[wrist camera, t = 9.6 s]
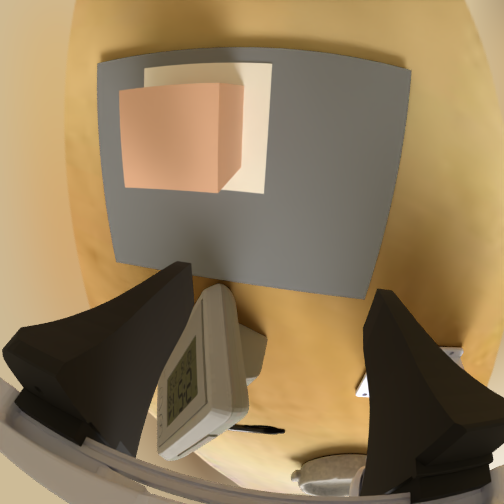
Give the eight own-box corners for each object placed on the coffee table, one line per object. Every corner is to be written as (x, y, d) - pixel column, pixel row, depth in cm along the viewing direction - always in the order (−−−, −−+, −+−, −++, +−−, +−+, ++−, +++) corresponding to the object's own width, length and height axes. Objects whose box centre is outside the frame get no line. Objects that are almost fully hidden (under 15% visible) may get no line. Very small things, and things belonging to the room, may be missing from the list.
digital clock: (222, 266, 23) (169, 378, 14) (306, 331, 25) (295, 446, 16) (140, 350, 31) (97, 426, 22) (204, 393, 32) (177, 470, 23)
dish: (382, 445, 34) (383, 474, 30) (377, 471, 40) (377, 494, 36) (288, 453, 39) (284, 480, 34) (302, 477, 45) (299, 499, 40)
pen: (285, 423, 34) (284, 429, 33) (285, 431, 35) (284, 437, 34) (185, 413, 37) (182, 417, 36) (187, 421, 38) (185, 425, 37)
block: (244, 85, 15) (219, 82, 11) (241, 167, 18) (217, 193, 13) (164, 88, 16) (119, 90, 12) (166, 163, 18) (124, 187, 14)
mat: (407, 71, 14) (411, 70, 13) (363, 292, 22) (364, 300, 21) (104, 63, 16) (96, 63, 15) (120, 257, 24) (115, 262, 23)
